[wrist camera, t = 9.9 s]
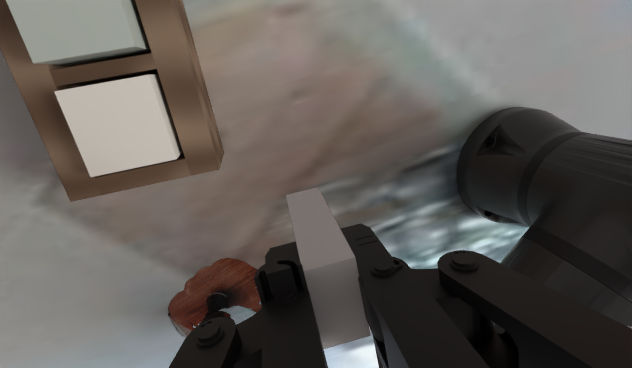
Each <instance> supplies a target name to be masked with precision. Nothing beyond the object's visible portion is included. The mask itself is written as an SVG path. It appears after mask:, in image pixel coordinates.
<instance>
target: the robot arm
mask: <svg viewBox="0 0 632 368" xmlns="http://www.w3.org/2000/svg"><path fill="white" fill-rule="evenodd" d="M457 185H458V189H459V192H460V195H461V197H462V199H463V200H464V202H465V203H466V205H467V206H468V207H469V208H471V209H472V210H473V211H475V212H476V213H478V214H480V215H481V216H483V217H485V218H487V219H489V220H491V221H494V222H499V223H505V224H512V225H518V226H525V227H530V228H529V229H528V230H527V231H526V233H525V234H524V235H523V236H522V237H521V238H520V240H519V241H518V242H517V243H516V245H515V246H514V247H513V248H512V250H511V251H510V252H509V253H508V254H507V256H506V257H505V258H504V259H503V260H502V262H501V263H498V262H496V261H494V260H492V259H490V258H488V257H486V256H484V255H482V254H479V253H476V252H473V251H465V250H459V251H453V252H449V253H446V254H444V255H443V256H442V257H440V259H439V261H438V268H436V269H411V268H410V267H409V266H408V265H407V264H406V263H405V262H404V261H403V260H401V259H399V258H395V257H392V256H391V255H390V254H389V252H388V251H387V250H386V248H385V247H384V246H383V244H382V243H381V242H380V241H379V239H378V238H377V236H375V234H374V232H373V231H372V230H371V228H369V227H367V226H365V225H363V224H357V225H354V226H350V227H346V228H342V229H340V228H339V226H338V224H337V222H336V220H335V218H334V217H333V215H332V213H331V211H330V209H329V207H328V205H327V204H326V202H325V200H324V198H323V196H322V194H321V192H320V191H319V189H318V187H317V188H313V189H309V190H305V191H300V192H296V193H292V194H288V195H286V198H287V202H288V207H289V212H290V216H291V221H292V226H293V230H294V235H295V239H296V242H292V243H288V244H285V245H281V246H277V247H273V248H270V250H269V251H268V253H267V255H266V256H265V265H263V266H261V267H260V268H259V269H258V270H257V271H256V273H255V275H254V281H255V284H256V287H257V290H258V294H259V297H260V300H261V305H262V308H261V309H260V310H259V311H258V312H257V313H256V314H255V315H253V316H252V317H250V318H248V319H247V320H245V321H243V322H241V323H239V324H237V325H236V324H235V322H234V320H232V319H230V318H228V317H218V318H214V319H210V320H208V321H206V322H204V323H202V324H200V325H199V326H197V327H196V328H195V329H193V330H192V331H191V332H190V334H189V335H188V336H187V337H186V339H185V340H184V342H183V344H182V346H181V347H180V349H179V351H178V352H177V354H176V356H175V358H174V359H173V361H172V363H171V365H170V366H169V368H328V366H327V362H326V358H325V354H324V350H323V349H326V348H329V347H333V346H336V345H340V344H343V343H346V342H350V341H353V340H357V339H360V338H364V337H367V336H370V331H369V327H370V329H371V331H372V333H373V338H374V343H375V348H376V354H377V359H378V364H379V368H383V367H384V368H632V140H627V139H621V138H615V137H609V136H603V135H597V134H590V133H585V132H581V131H579V130H578V129H576V128H574V127H573V126H571V125H570V124H568V123H566V122H564V121H563V120H561V119H559V118H558V117H556V116H555V115H553V114H551V113H549V112H546V111H543V110H539V109H532V108H523V107H516V108H510V109H506V110H503V111H500V112H498V113H496V114H494V115H492V116H491V117H489V118H488V119H486V120H485V121H484V122H483V123H481V124H480V125H479V126H478V127H477V128H476V129H475V131H474V132H473V133H472V134H471V136H470V137H469V138H468V140H467V142H466V143H465V145H464V147H463V149H462V152H461V155H460V158H459V161H458V166H457ZM368 324H369V325H368Z"/></svg>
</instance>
